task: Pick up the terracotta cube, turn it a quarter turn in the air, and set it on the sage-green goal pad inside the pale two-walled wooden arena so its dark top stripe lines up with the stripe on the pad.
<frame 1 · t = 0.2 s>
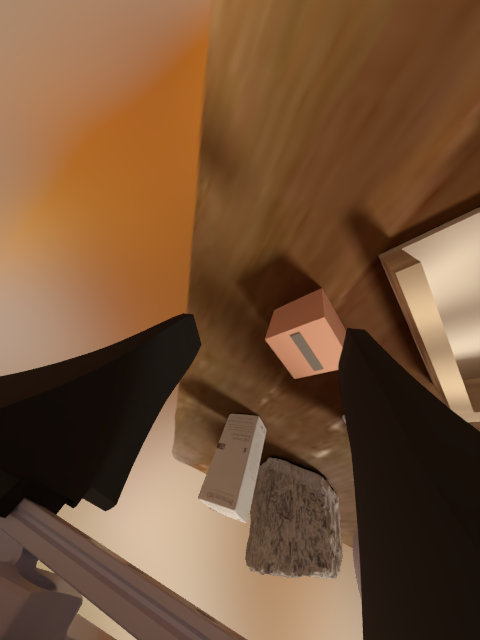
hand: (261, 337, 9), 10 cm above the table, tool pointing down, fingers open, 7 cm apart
terracotta cube: (308, 318, 19), on the table
skincare box: (247, 420, 34), on the table
grey brown chunky block: (295, 477, 41), on the table
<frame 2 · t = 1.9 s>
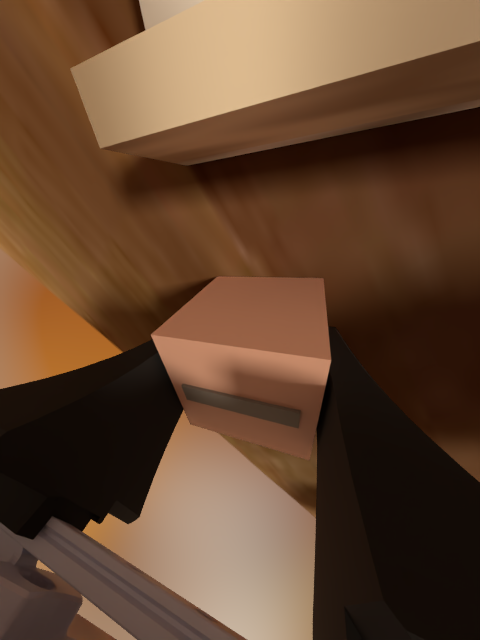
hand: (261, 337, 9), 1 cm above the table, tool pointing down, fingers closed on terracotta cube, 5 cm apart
terracotta cube: (266, 321, 10), on the table, touching gripper
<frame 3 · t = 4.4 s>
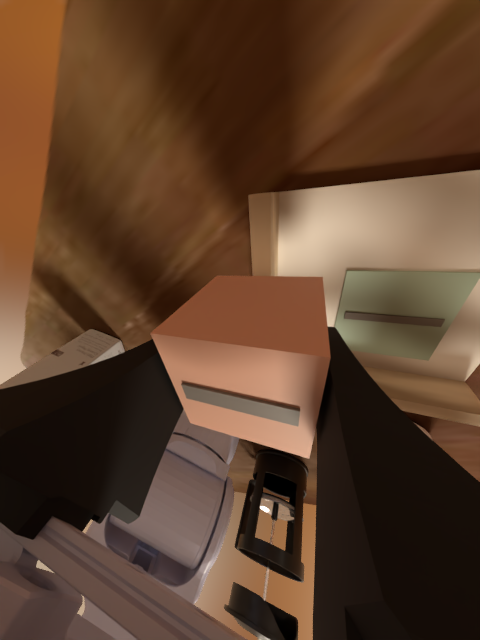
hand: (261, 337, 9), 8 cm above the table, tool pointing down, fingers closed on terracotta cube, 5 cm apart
terracotta cube: (266, 320, 10), point 7 cm above the table, touching gripper
skincare box: (110, 342, 31), on the table
french press: (279, 462, 35), on the table
arena: (367, 298, 15), on the table
when the fingers open (3 cm above the table, at t = 6.8 s): terracotta cube stays where it is, resting on arena.
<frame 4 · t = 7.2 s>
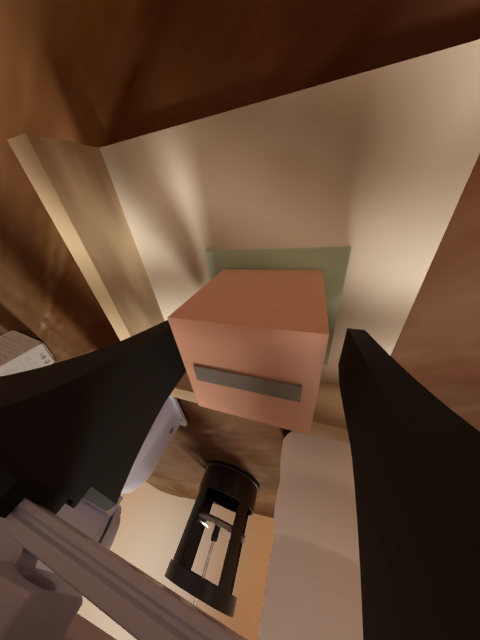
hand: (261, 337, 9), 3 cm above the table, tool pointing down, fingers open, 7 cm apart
terracotta cube: (269, 312, 11), point 1 cm above the table, touching arena
skincare box: (37, 345, 28), on the table
milk bottle: (319, 443, 19), on the table
french press: (230, 474, 32), on the table
arena: (249, 288, 12), on the table
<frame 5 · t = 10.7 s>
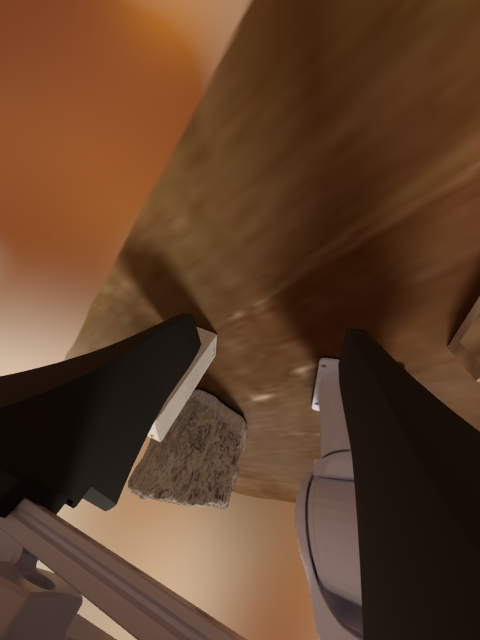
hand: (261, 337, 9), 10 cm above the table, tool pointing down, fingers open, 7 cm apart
skincare box: (197, 337, 27), on the table
grey brown chunky block: (211, 417, 38), on the table
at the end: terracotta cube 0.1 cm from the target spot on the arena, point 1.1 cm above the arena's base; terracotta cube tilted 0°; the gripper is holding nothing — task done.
